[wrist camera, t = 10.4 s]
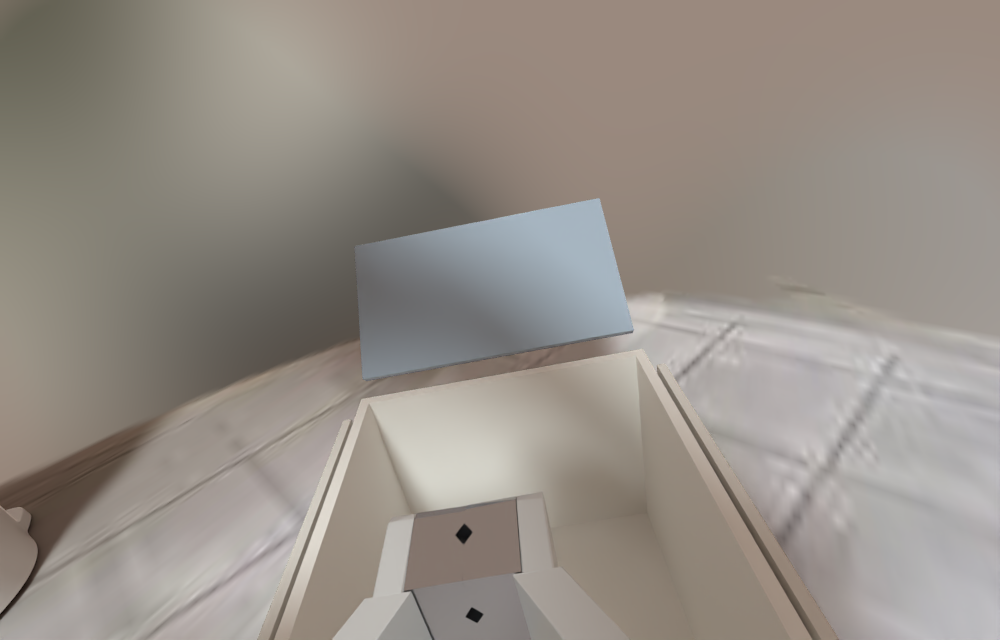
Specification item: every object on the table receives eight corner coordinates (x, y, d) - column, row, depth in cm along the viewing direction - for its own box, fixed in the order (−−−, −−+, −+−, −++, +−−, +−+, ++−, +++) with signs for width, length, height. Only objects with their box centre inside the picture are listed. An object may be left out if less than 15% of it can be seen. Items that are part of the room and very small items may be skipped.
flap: (354, 246, 29) (357, 250, 29) (362, 379, 26) (366, 381, 26) (599, 198, 28) (598, 202, 28) (633, 330, 25) (632, 332, 26)
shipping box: (347, 976, 17) (176, 836, 11) (410, 549, 31) (349, 401, 26) (835, 920, 16) (905, 740, 10) (663, 508, 31) (655, 346, 25)
